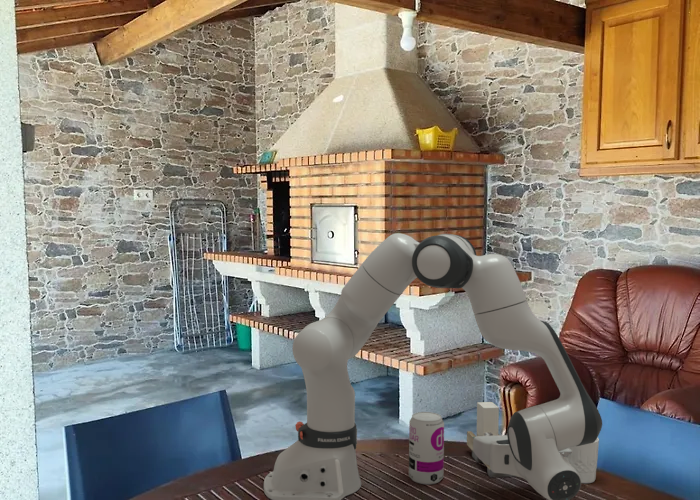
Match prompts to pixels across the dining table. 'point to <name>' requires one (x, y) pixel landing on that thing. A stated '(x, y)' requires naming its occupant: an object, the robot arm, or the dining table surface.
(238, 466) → the dining table surface
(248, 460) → the dining table surface
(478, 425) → the rider
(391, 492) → the dining table surface
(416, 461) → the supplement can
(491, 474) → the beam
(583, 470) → the white cup
